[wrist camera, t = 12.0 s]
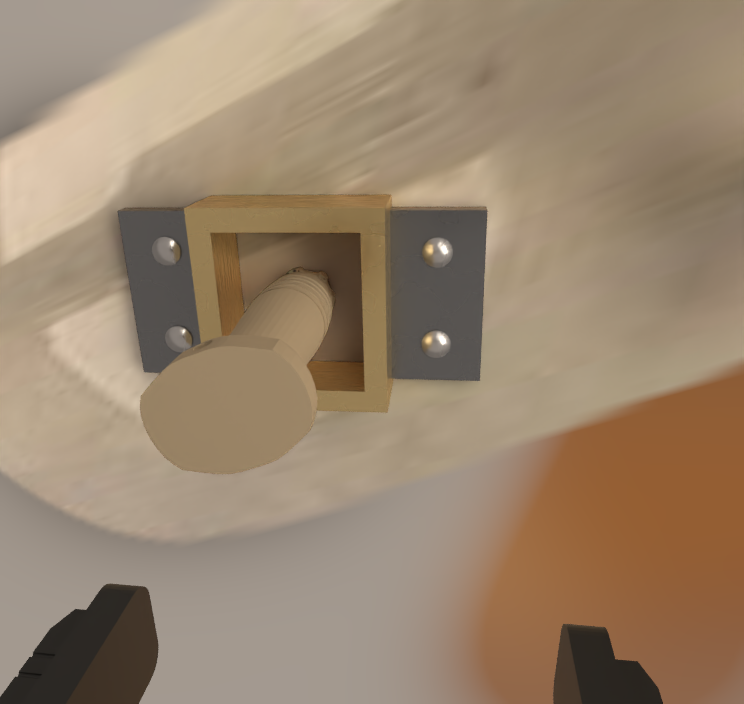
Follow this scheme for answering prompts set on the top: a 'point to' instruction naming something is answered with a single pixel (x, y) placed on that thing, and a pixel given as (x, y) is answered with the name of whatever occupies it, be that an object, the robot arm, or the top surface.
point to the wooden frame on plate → (378, 272)
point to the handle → (244, 383)
